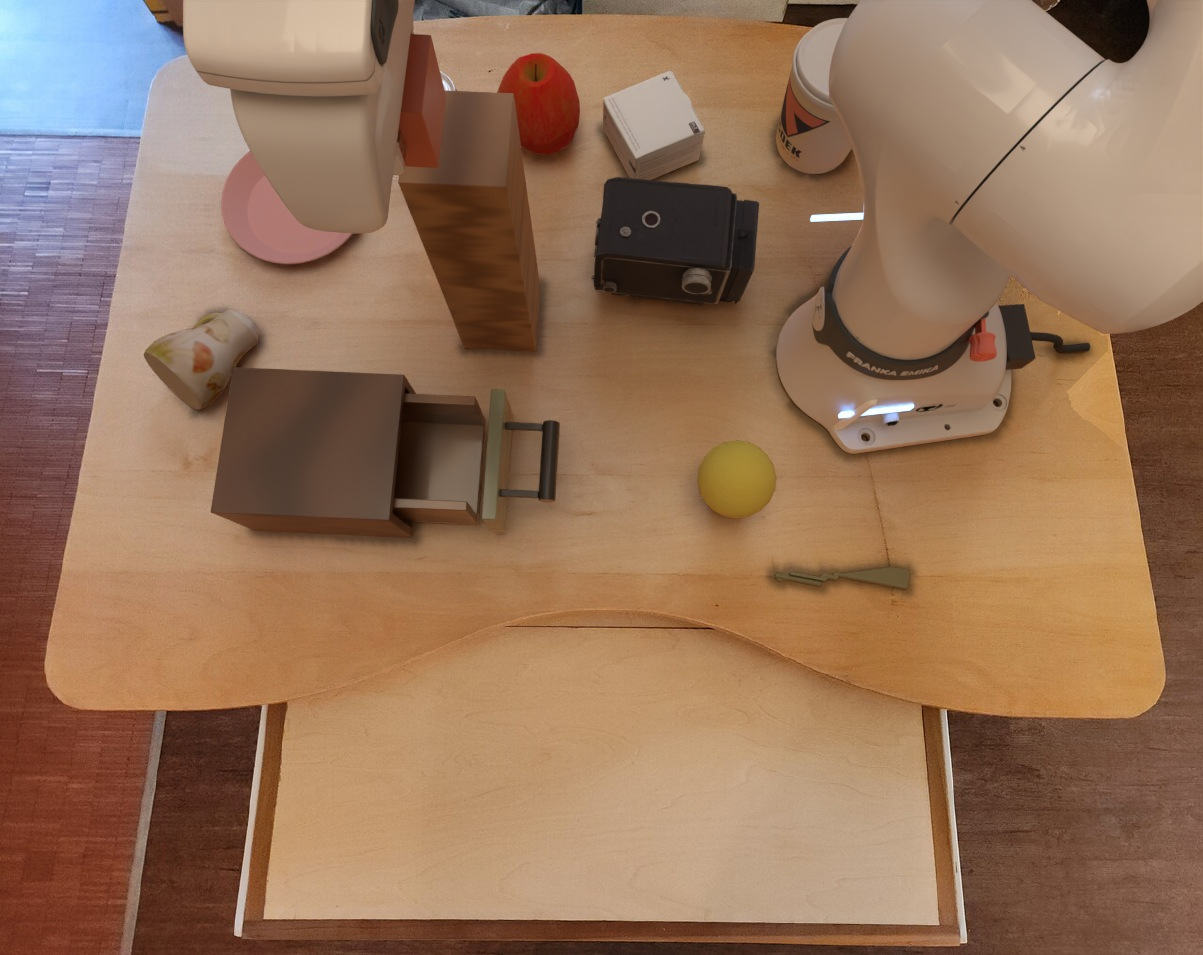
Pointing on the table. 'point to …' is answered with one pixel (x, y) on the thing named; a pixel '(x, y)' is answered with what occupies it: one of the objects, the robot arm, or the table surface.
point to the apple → (542, 102)
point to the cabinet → (311, 452)
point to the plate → (269, 220)
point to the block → (422, 104)
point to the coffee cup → (812, 106)
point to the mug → (202, 356)
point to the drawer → (464, 460)
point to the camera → (674, 241)
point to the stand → (479, 222)
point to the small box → (653, 127)
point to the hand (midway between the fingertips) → (396, 114)
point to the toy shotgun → (856, 577)
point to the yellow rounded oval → (736, 479)
